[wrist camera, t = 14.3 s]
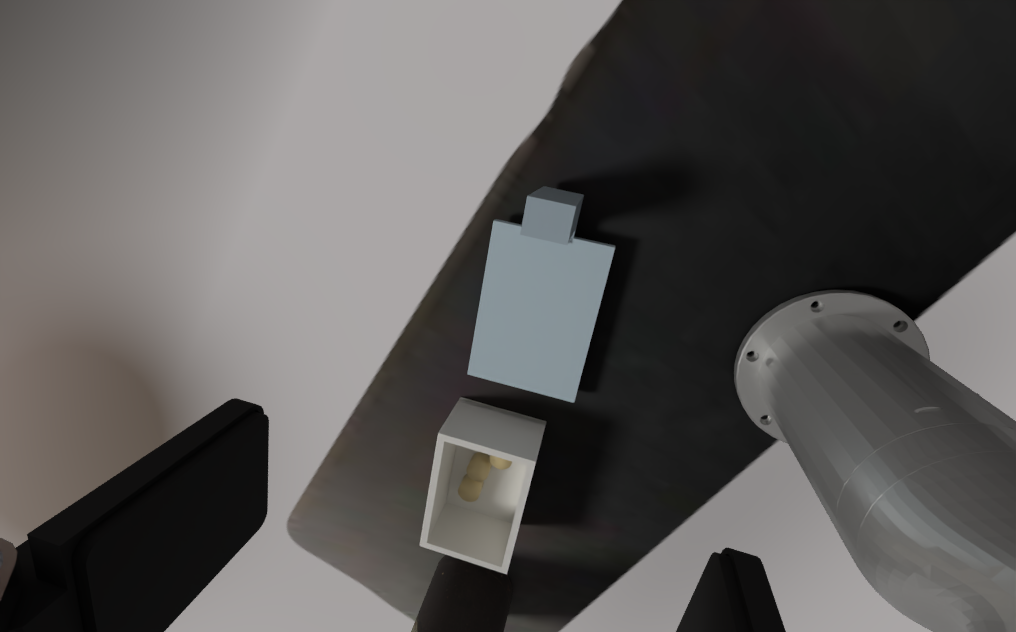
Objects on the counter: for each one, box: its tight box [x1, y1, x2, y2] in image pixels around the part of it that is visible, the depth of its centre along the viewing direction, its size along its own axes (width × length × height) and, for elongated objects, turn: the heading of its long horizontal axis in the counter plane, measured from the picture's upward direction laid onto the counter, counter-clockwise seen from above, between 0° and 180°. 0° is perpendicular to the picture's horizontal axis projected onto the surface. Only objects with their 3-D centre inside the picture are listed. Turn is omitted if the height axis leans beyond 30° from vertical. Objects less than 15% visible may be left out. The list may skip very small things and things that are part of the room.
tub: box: [420, 397, 547, 574], centre depth 44 cm, size 8×12×6 cm, turn 169°
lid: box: [468, 186, 615, 403], centre depth 36 cm, size 9×16×8 cm, turn 169°
